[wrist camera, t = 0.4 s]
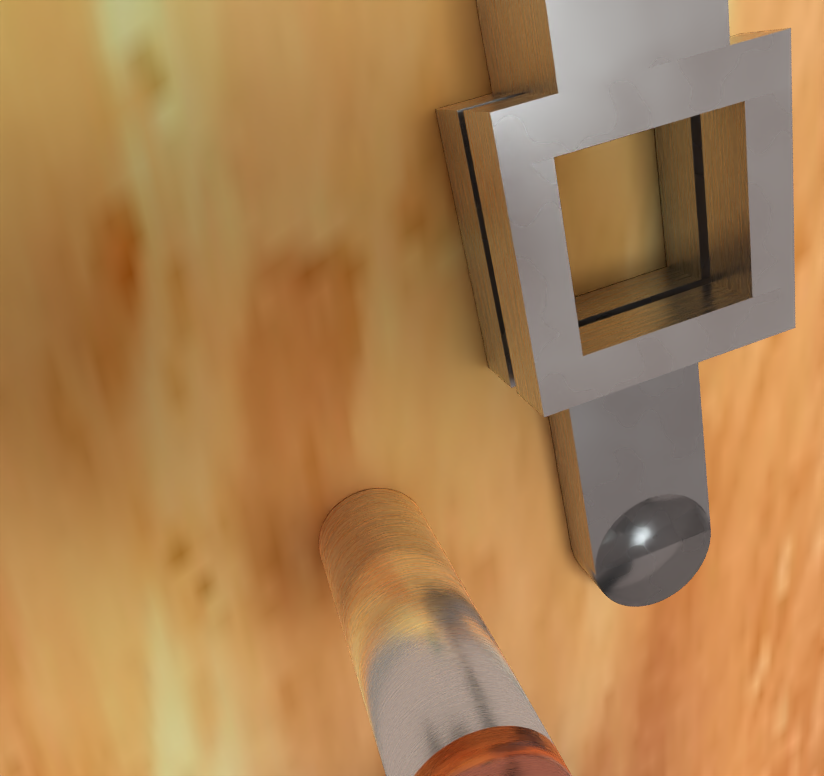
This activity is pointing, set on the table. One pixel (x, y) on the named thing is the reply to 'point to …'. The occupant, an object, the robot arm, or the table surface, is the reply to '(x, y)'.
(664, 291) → the lower strap
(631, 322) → the strap
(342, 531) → the link pin
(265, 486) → the table surface
